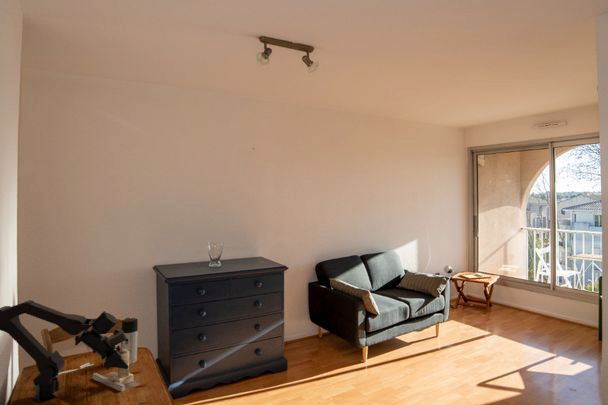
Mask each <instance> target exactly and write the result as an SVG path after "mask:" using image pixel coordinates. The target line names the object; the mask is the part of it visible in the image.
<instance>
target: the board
mask: <svg viewBox="0 0 608 405" xmlns="http://www.w3.org/2000/svg"><path fill="white" fill-rule="evenodd" d="M116 375H118V371H110V372H108V373H105V374H102V375H101V374H99V373H97V372H93V373H92V380H93V381H96V382H99V383H101V384H104V385H105V386H107V387H110V388H112V389H114V390H117V391H118V392H121V393H122V392H124V391H127V390H129V389H131V388H134V387H137V386H139V385H141V384H143V382H141V381H140V380H136V379H133V382H130V383H128V384H125V385H123V384H121V383H119V382H116V381H115V380H113V377H114V376H116Z"/></svg>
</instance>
